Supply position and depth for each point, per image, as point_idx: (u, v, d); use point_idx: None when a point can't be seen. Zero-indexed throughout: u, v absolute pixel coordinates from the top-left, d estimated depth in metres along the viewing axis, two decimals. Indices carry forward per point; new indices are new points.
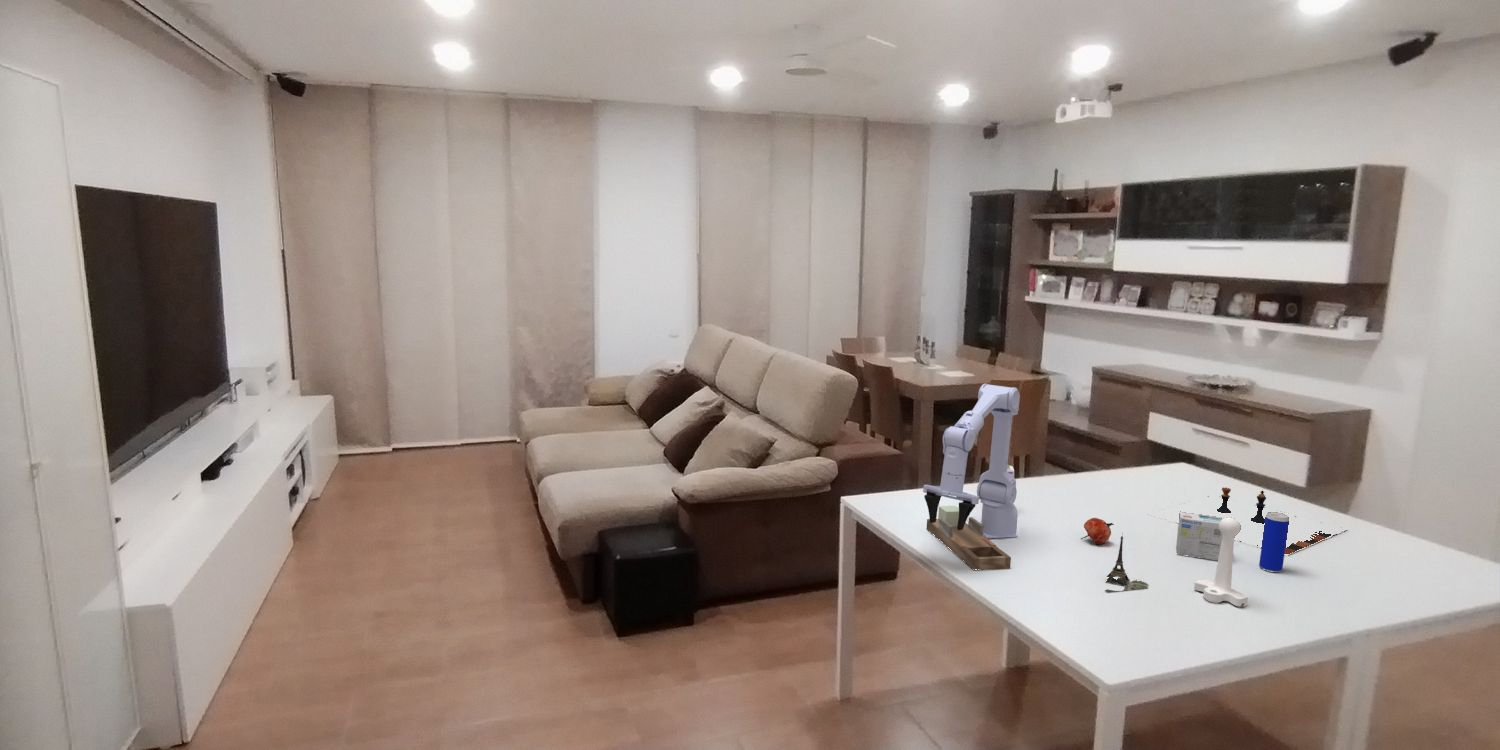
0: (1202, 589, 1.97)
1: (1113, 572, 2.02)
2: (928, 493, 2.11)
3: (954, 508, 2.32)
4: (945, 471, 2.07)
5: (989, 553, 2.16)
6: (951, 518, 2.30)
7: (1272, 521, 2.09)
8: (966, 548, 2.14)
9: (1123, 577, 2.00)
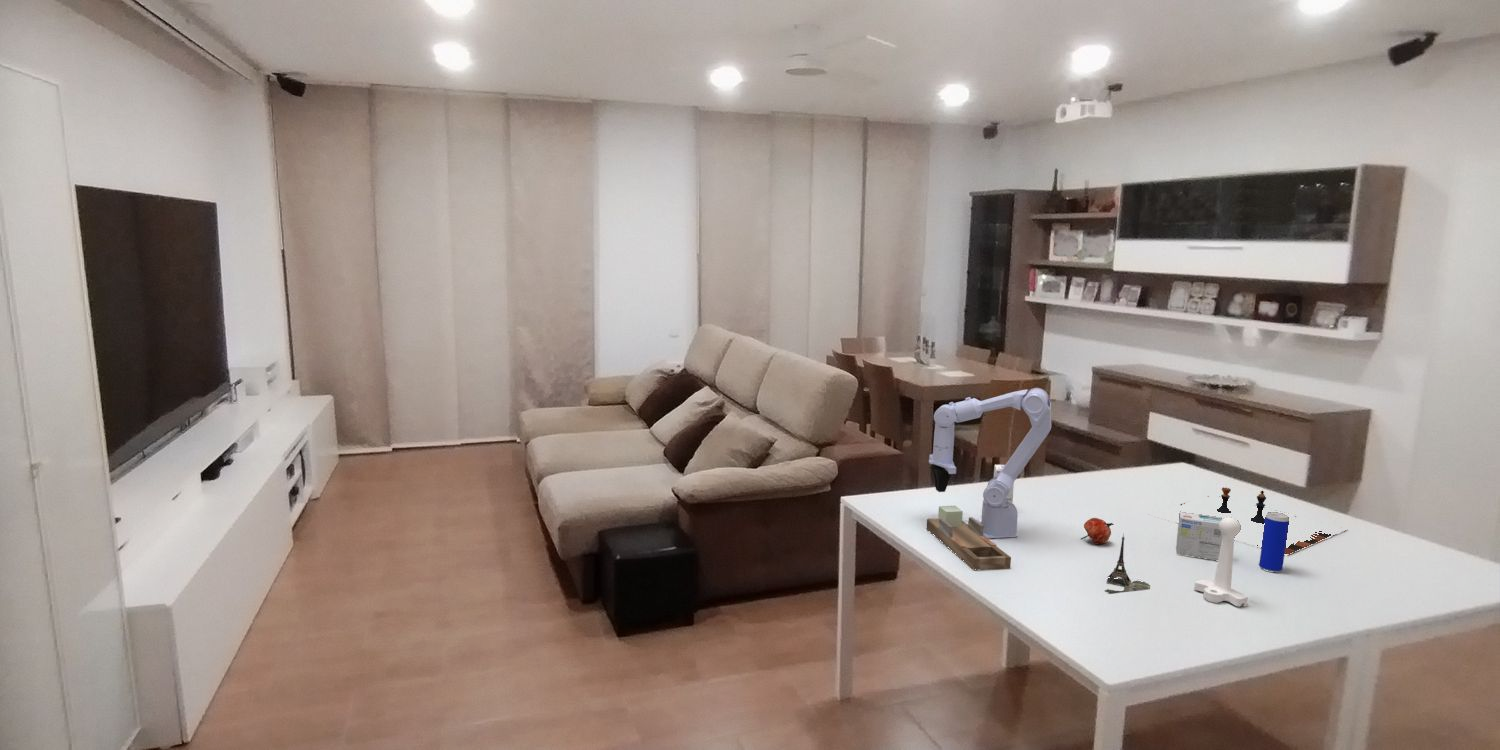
0: (1202, 589, 1.97)
1: (1114, 572, 2.01)
2: (935, 464, 2.40)
3: (954, 508, 2.32)
4: None
5: (989, 553, 2.16)
6: (951, 518, 2.30)
7: (1272, 521, 2.09)
8: (966, 548, 2.14)
9: (1124, 577, 2.00)
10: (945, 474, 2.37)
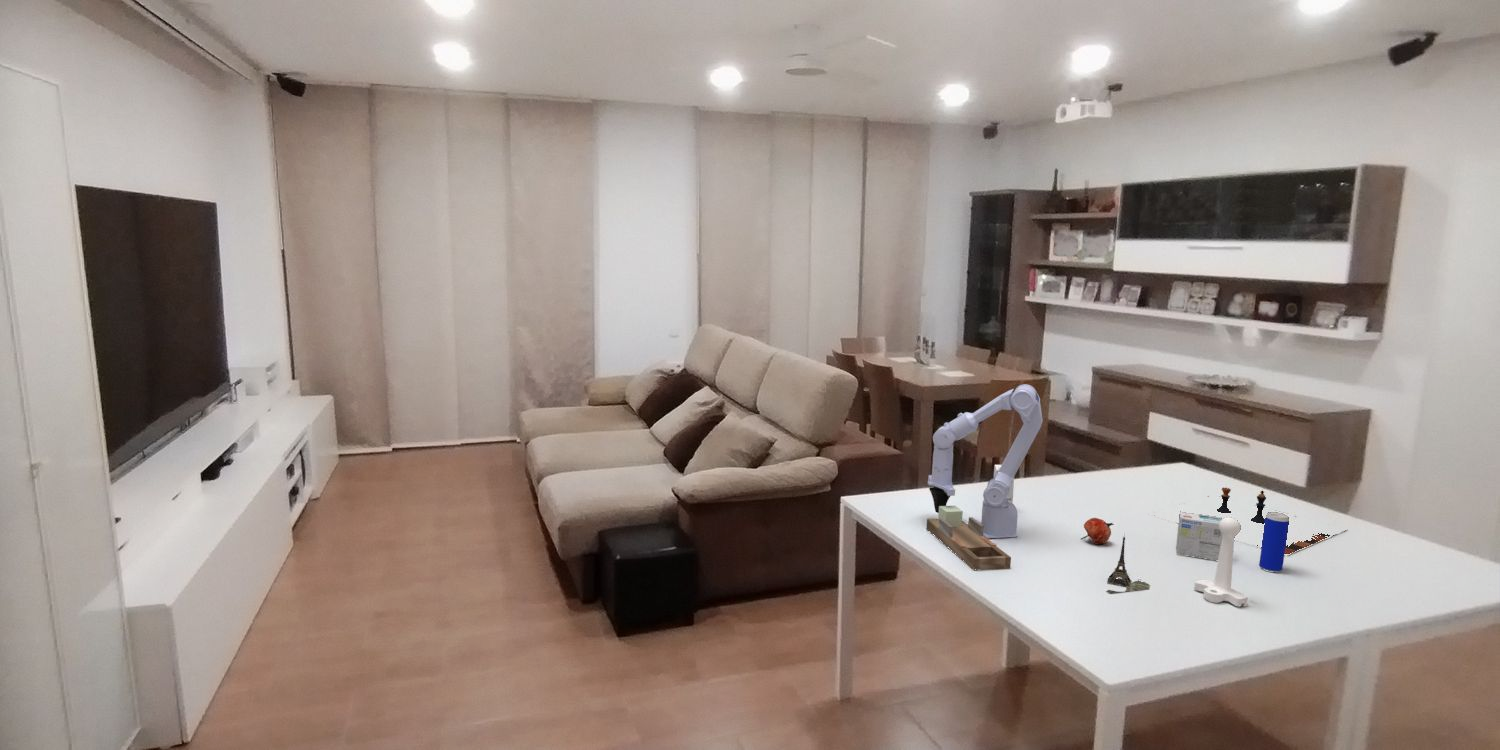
0: (1202, 589, 1.97)
1: (1115, 573, 2.01)
2: (935, 486, 2.40)
3: (954, 508, 2.32)
4: None
5: (989, 553, 2.16)
6: (951, 518, 2.30)
7: (1272, 521, 2.09)
8: (966, 548, 2.14)
9: (1125, 578, 2.00)
10: (943, 495, 2.38)
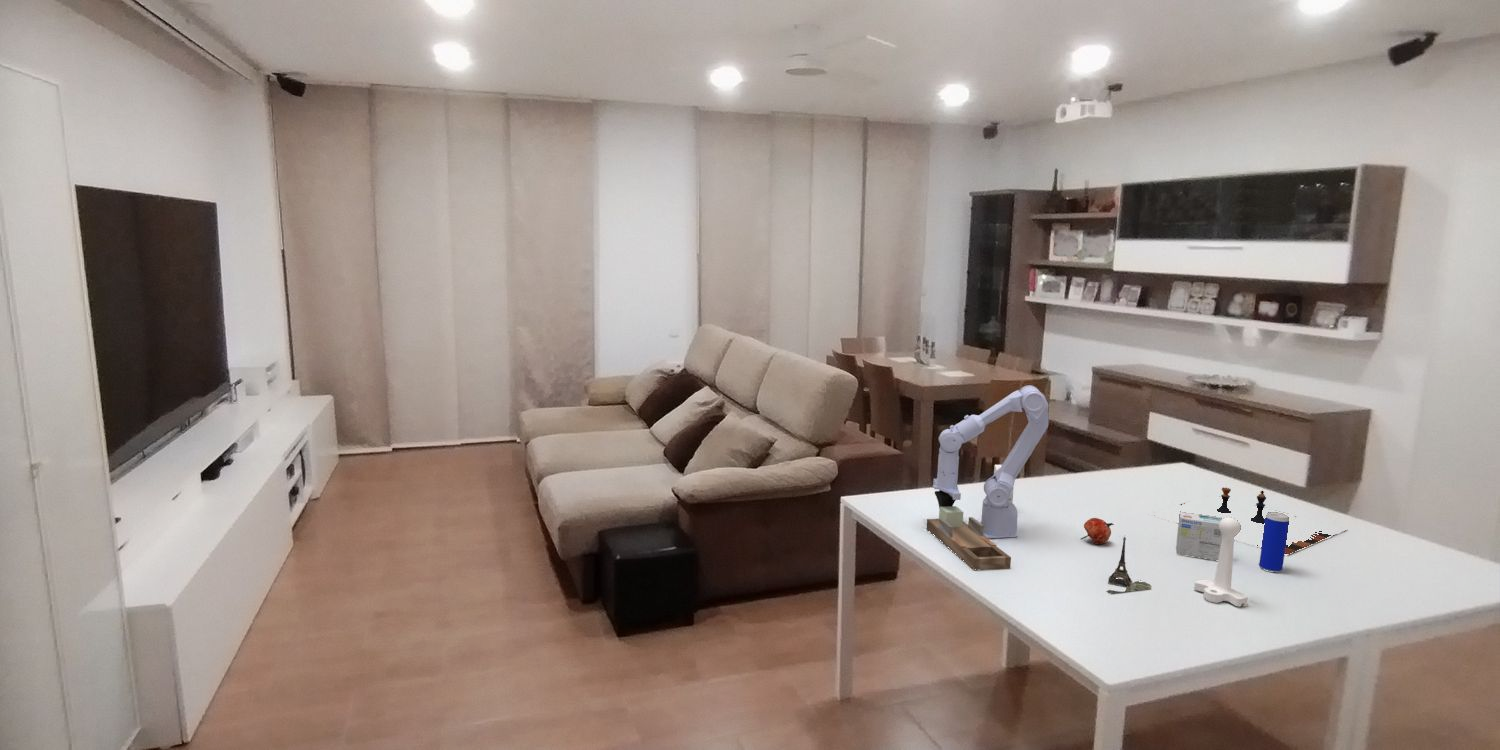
0: (1202, 589, 1.97)
1: (1116, 573, 2.01)
2: (940, 489, 2.37)
3: (955, 509, 2.31)
4: None
5: (989, 553, 2.16)
6: (952, 518, 2.29)
7: (1272, 521, 2.09)
8: (966, 548, 2.14)
9: (1126, 578, 2.00)
10: (949, 499, 2.35)
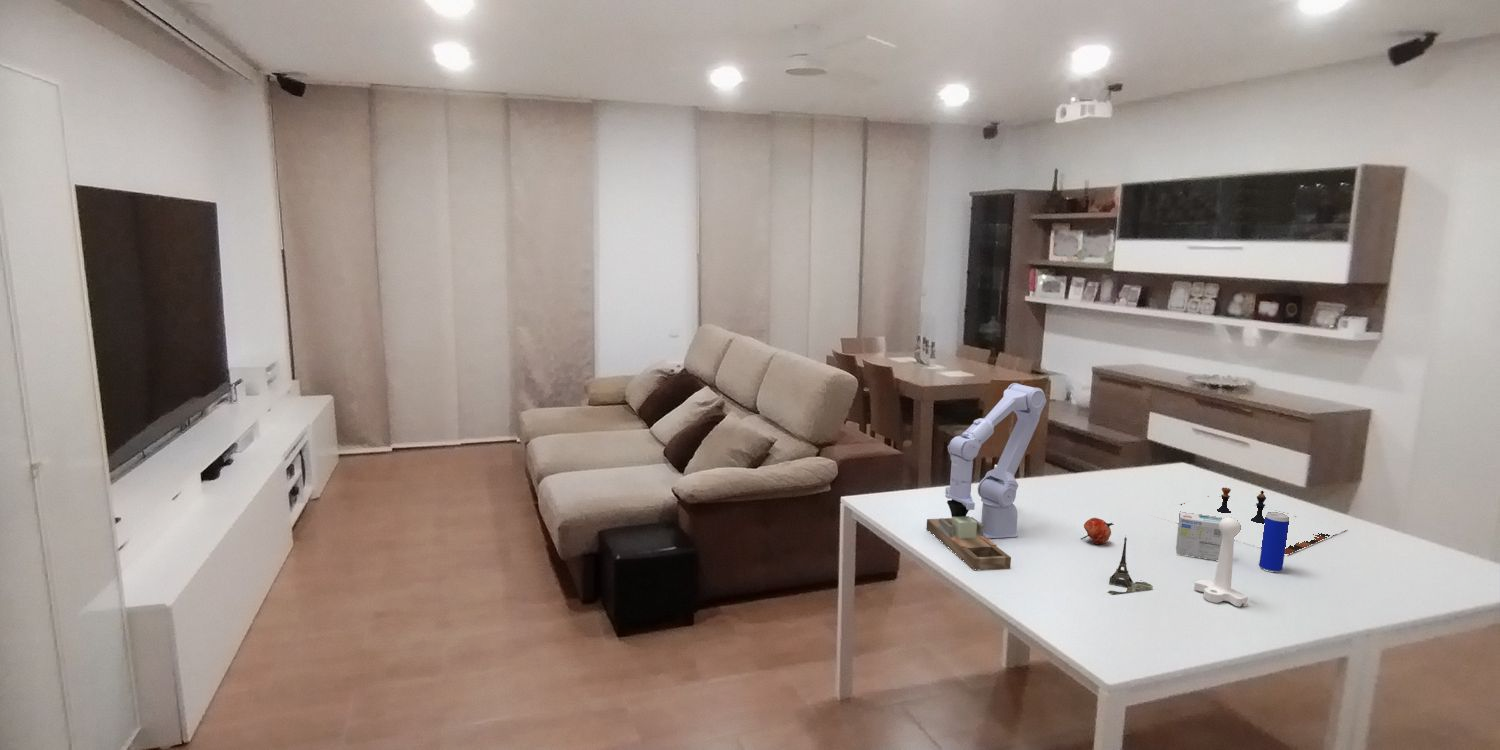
0: (1202, 589, 1.97)
1: (1117, 573, 2.01)
2: (953, 499, 2.28)
3: (968, 519, 2.23)
4: (951, 477, 2.25)
5: (989, 553, 2.16)
6: (965, 529, 2.21)
7: (1272, 521, 2.09)
8: (966, 548, 2.14)
9: (1127, 578, 2.00)
10: (962, 509, 2.26)
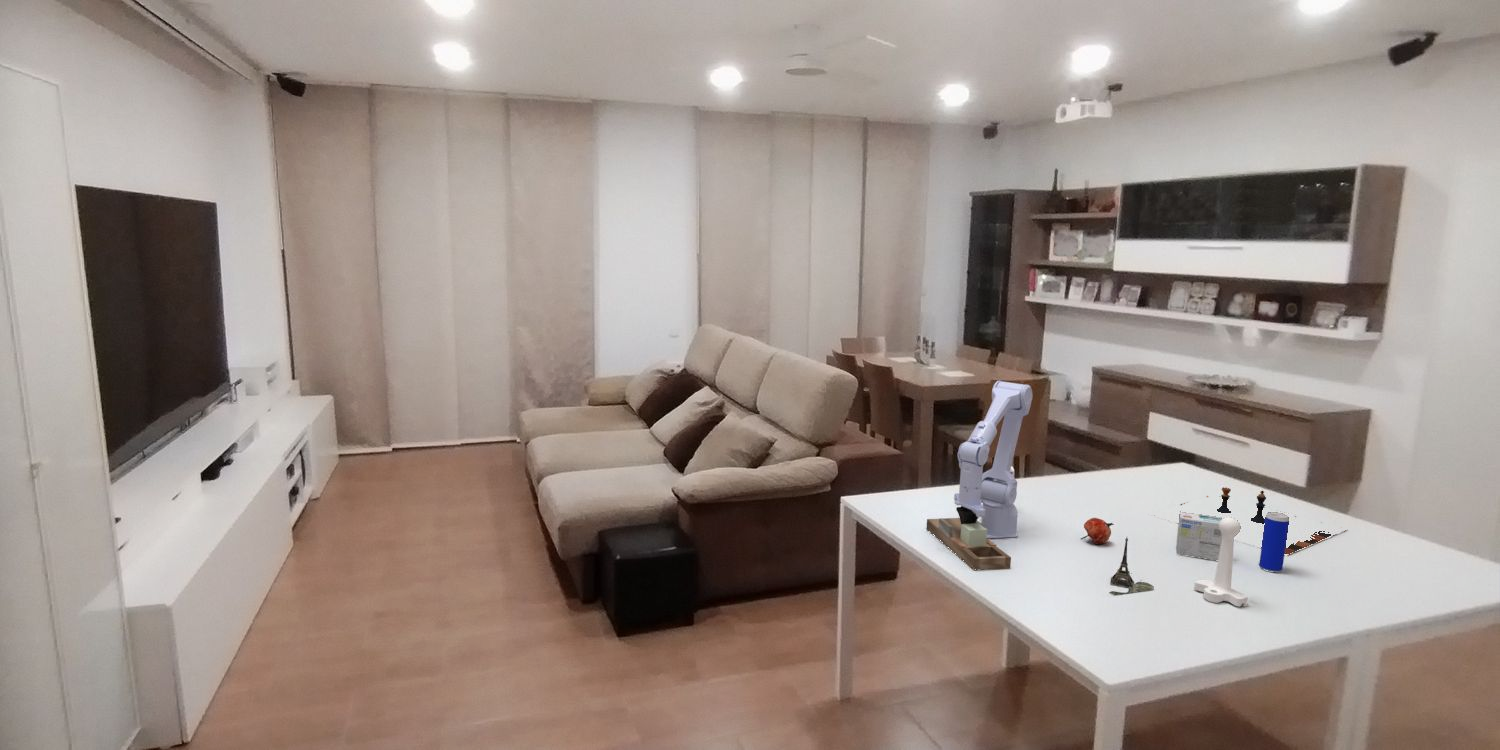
0: (1202, 589, 1.97)
1: (1118, 574, 2.00)
2: (962, 505, 2.23)
3: (978, 526, 2.17)
4: (962, 485, 2.18)
5: (989, 553, 2.16)
6: (975, 537, 2.15)
7: (1272, 521, 2.09)
8: (966, 548, 2.14)
9: (1128, 579, 1.99)
10: (972, 516, 2.20)
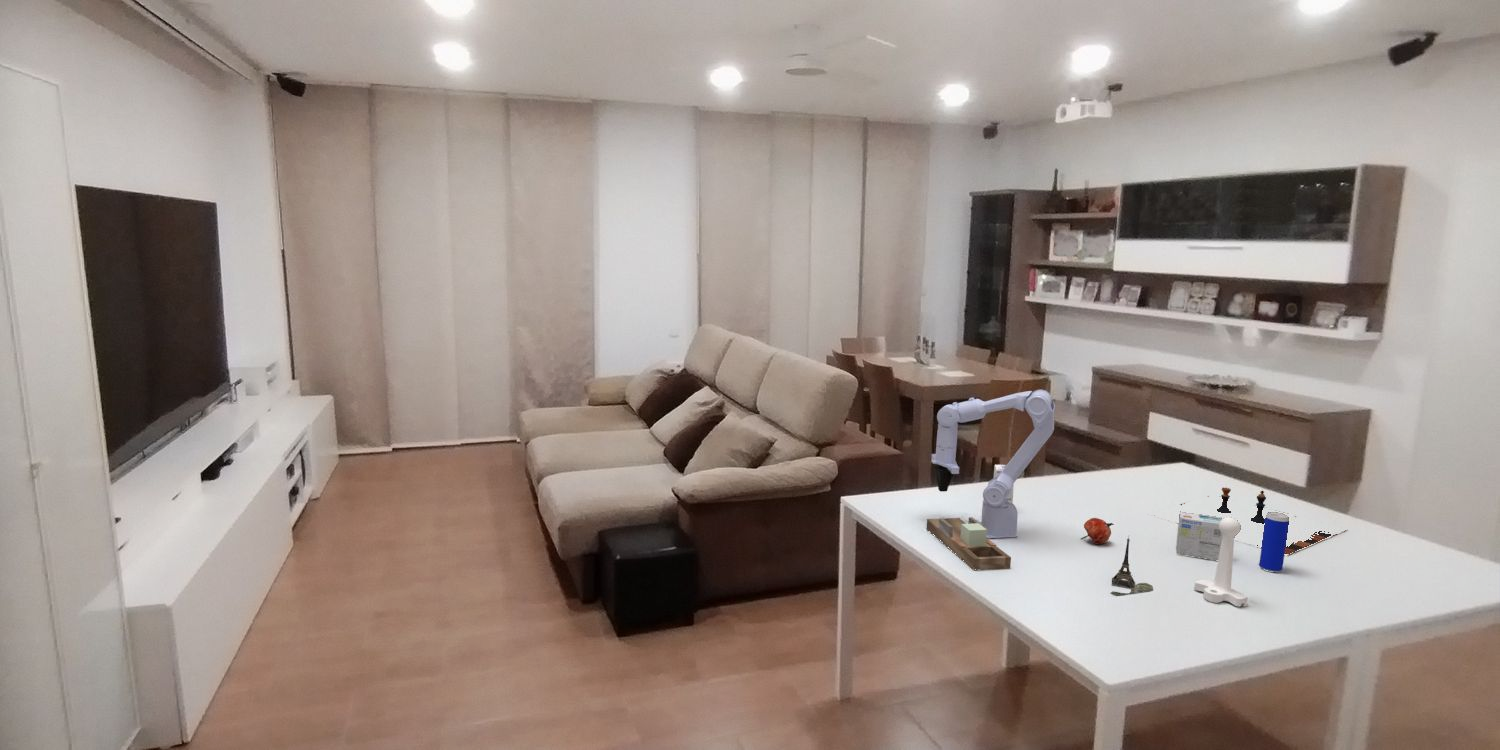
0: (1202, 589, 1.97)
1: (1119, 574, 2.00)
2: (938, 464, 2.40)
3: (978, 526, 2.17)
4: None
5: (989, 553, 2.16)
6: (975, 537, 2.15)
7: (1272, 521, 2.09)
8: (966, 548, 2.14)
9: (1130, 579, 1.99)
10: (947, 474, 2.37)
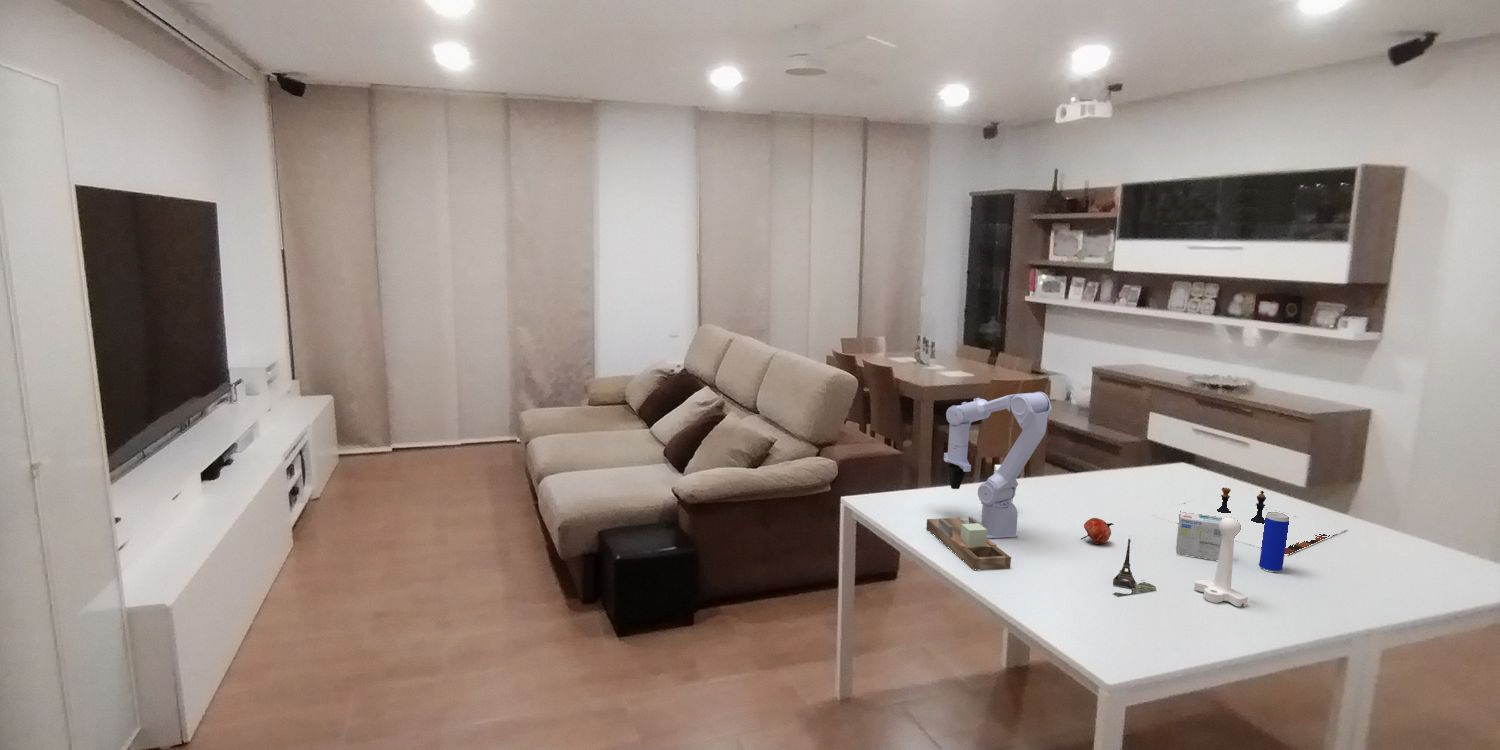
0: (1202, 589, 1.97)
1: (1121, 575, 2.00)
2: (950, 463, 2.46)
3: (978, 526, 2.17)
4: None
5: (989, 553, 2.16)
6: (975, 537, 2.15)
7: (1272, 521, 2.09)
8: (966, 548, 2.14)
9: (1131, 580, 1.99)
10: (959, 472, 2.44)
